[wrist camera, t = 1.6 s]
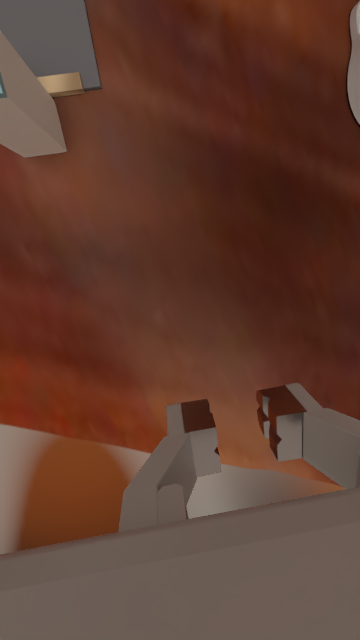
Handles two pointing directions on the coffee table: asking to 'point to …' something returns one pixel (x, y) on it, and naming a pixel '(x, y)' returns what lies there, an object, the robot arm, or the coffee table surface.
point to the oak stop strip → (62, 84)
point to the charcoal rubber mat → (51, 37)
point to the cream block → (26, 109)
